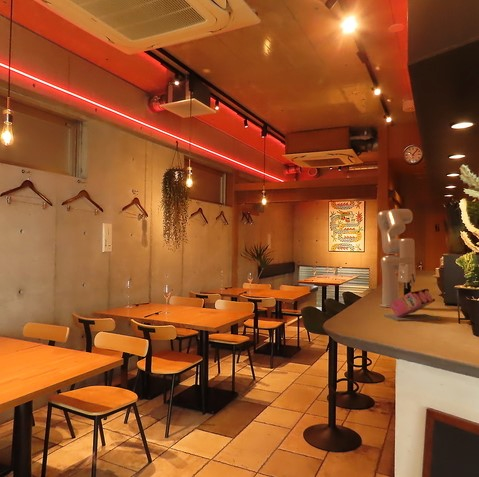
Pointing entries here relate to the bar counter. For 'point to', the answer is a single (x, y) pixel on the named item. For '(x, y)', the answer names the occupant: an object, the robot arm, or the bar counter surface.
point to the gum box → (411, 302)
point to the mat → (413, 317)
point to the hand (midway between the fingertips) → (407, 295)
